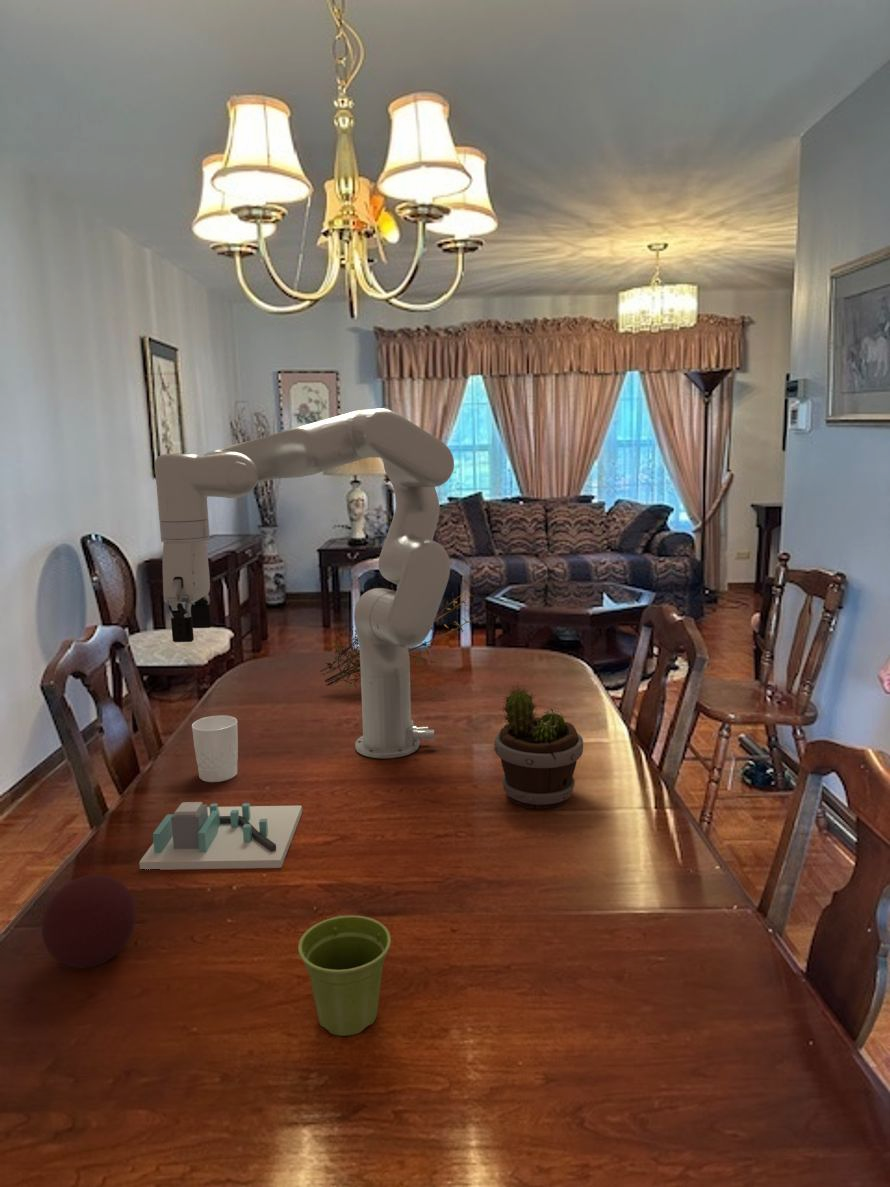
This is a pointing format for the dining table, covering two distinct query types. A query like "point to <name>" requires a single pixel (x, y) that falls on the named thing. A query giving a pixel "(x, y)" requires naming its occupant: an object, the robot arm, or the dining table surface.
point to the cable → (255, 833)
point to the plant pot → (345, 970)
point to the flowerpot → (536, 754)
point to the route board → (233, 843)
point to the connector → (188, 824)
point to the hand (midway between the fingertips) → (193, 634)
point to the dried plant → (359, 651)
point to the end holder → (204, 835)
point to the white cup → (216, 747)
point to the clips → (235, 821)
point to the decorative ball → (88, 921)
